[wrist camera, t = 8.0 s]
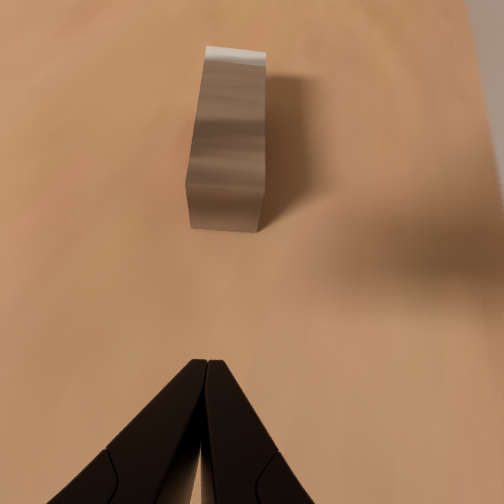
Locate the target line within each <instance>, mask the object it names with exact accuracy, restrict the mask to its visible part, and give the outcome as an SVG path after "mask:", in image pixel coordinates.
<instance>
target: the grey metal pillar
mask: <svg viewBox="0 0 504 504" xmlns="http://www.w3.org/2000/svg"><path fill="white" fill-rule="evenodd" d="M265 105H266V52H257V51H249V50H240V49H231V48H222V47H213V46H207V47H206V54H205V60H204V67H203V73H202V80H201V86H200V93H199V99H198V106H197V112H196V119H195V125H194V131H193V138H192V144H191V151H190V157H189V164H188V170H187V177H186V183H185V187H186V195H187V202H188V209H189V217H190V224H191V228H196V229H211V230H225V231H239V232H254V233H257V228H258V224H259V219H260V214H261V209H262V205H263V200H264V195H265Z"/></svg>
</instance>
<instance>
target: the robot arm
mask: <svg viewBox="0 0 504 504" xmlns="http://www.w3.org/2000/svg"><path fill="white" fill-rule="evenodd" d="M200 449H201V504H315V503H314V502H313V500H312V499H311V498H310V496H309V495H308V494H307V492H306V491H305V490H304V488H303V487H302V485H301V484H300V482H299V481H298V479H297V478H296V476H295V475H294V473H293V472H292V470H291V469H290V467H289V465H288V464H287V462H286V461H285V459H284V457H283V456H282V454H281V452H279V450H278V448H277V446H276V444H275V443H274V441H273V440H272V438H271V436H270V435H269V433H268V431H267V430H266V428H265V427H264V425H263V423H262V422H261V420H260V418H259V417H258V415H257V414H256V412H255V410H254V409H253V407H252V405H251V404H250V402H249V401H248V399H247V397H246V396H245V394H244V392H243V391H242V389H241V387H240V386H239V384H238V383H237V381H236V379H235V378H234V376H233V374H232V373H231V371H230V370H229V368H228V366H227V365H226V363H225V362H224V361H223V360H209V361H208V362H207V360H205V359H192V360H190V361H189V363H188V364H187V365H186V366H185V367H184V368H183V369H182V370H181V371H180V372H179V373H178V374H177V375H176V376H175V377H174V378H173V379H172V380H171V381H170V382H169V383H168V384H167V385H166V386H165V387H164V388H163V389H162V390H161V391H160V392H159V393H158V394H157V395H156V396H155V397H154V398H153V399H152V400H151V401H150V402H149V403H148V404H147V405H146V406H145V407H144V408H143V409H142V410H141V412H140V413H139V414H138V415H137V416H136V417H135V418H134V419H133V420H132V421H131V422H130V423H129V424H128V425H127V426H126V427H125V428H124V429H123V430H122V431H121V432H120V433H119V434H118V435H117V436H116V437H115V438H114V439H113V440H112V441H111V442H110V443H109V444H108V445H107V446H106V449H103V450H102V451H101V452H100V453H99V454H98V455H97V456H96V457H95V458H94V459H93V460H92V461H91V462H90V463H89V464H88V465H87V466H86V467H85V468H84V469H83V470H82V471H81V472H80V473H79V474H78V475H77V476H76V477H75V478H74V479H73V480H72V481H71V482H70V483H69V484H68V485H67V486H65V487H64V488H63V489H62V490H61V491H60V492H59V493H58V494H57V495H55V496H54V497H53V498H52V499H51V500H50V501H49V502H48V503H46V504H190V499H191V495H192V490H193V485H194V481H195V476H196V471H197V467H198V462H199V456H200Z"/></svg>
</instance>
